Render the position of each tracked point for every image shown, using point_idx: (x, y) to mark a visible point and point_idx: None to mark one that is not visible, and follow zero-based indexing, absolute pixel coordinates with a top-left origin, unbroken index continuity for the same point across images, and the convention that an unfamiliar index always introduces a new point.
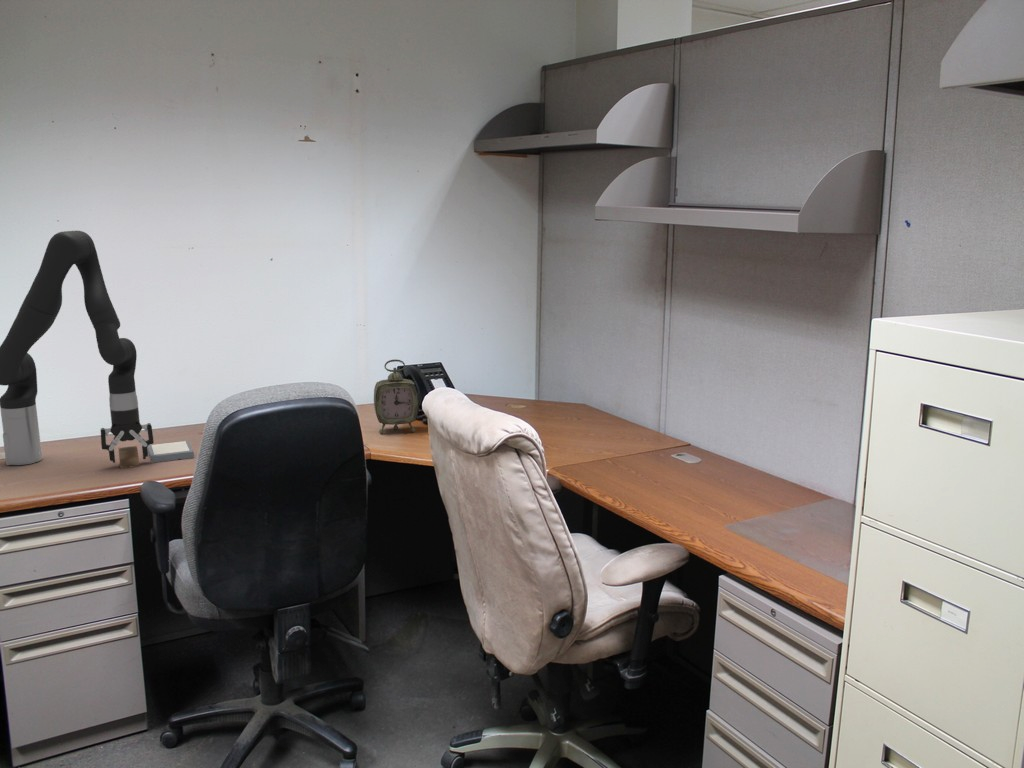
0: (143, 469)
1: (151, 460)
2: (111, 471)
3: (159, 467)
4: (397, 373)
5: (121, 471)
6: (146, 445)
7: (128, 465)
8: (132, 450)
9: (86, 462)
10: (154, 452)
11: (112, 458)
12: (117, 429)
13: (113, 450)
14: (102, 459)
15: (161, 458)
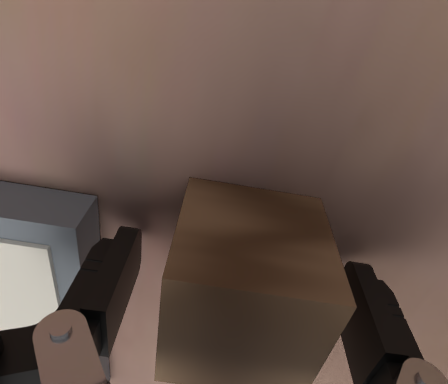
0: (172, 52)
1: (88, 208)
2: (411, 157)
3: (26, 28)
4: None
5: (351, 109)
6: (51, 320)
7: (265, 198)
8: (215, 291)
9: None
10: (50, 295)
11: (380, 289)
12: None
13: (384, 361)
14: (331, 380)
15: (7, 198)
